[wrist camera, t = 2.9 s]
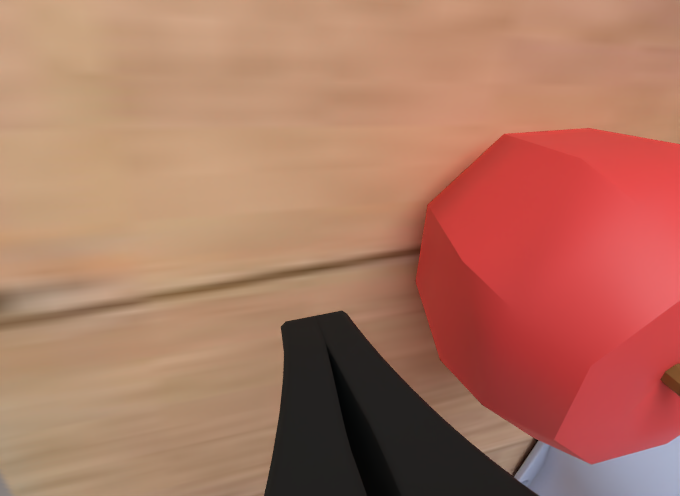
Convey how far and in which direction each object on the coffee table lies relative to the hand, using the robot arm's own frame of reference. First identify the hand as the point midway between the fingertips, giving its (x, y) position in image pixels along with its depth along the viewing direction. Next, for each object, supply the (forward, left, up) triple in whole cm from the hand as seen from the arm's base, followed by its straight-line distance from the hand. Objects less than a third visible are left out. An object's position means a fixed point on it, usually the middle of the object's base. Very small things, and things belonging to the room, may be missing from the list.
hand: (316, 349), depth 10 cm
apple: (+2, -7, -4) cm, 8 cm away
